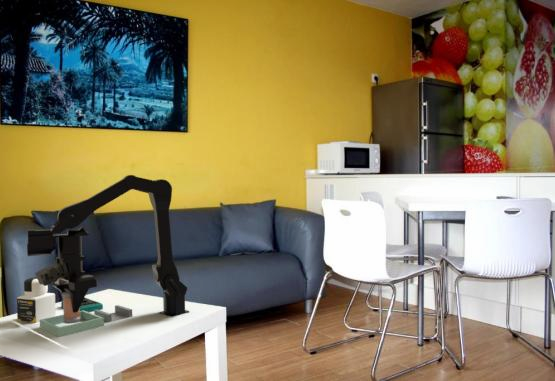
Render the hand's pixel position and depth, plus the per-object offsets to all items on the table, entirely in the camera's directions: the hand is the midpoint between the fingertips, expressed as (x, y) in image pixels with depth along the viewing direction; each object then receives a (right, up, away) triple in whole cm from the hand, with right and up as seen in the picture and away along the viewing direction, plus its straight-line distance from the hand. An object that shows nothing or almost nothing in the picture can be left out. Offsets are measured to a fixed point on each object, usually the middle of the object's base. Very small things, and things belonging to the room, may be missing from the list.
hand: (71, 310), depth 128 cm
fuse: (0, -3, 0) cm, 3 cm away
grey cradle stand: (+8, -4, +9) cm, 13 cm away
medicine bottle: (-14, -5, +9) cm, 17 cm away
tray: (0, -5, 0) cm, 5 cm away
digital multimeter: (-6, -5, +20) cm, 22 cm away
